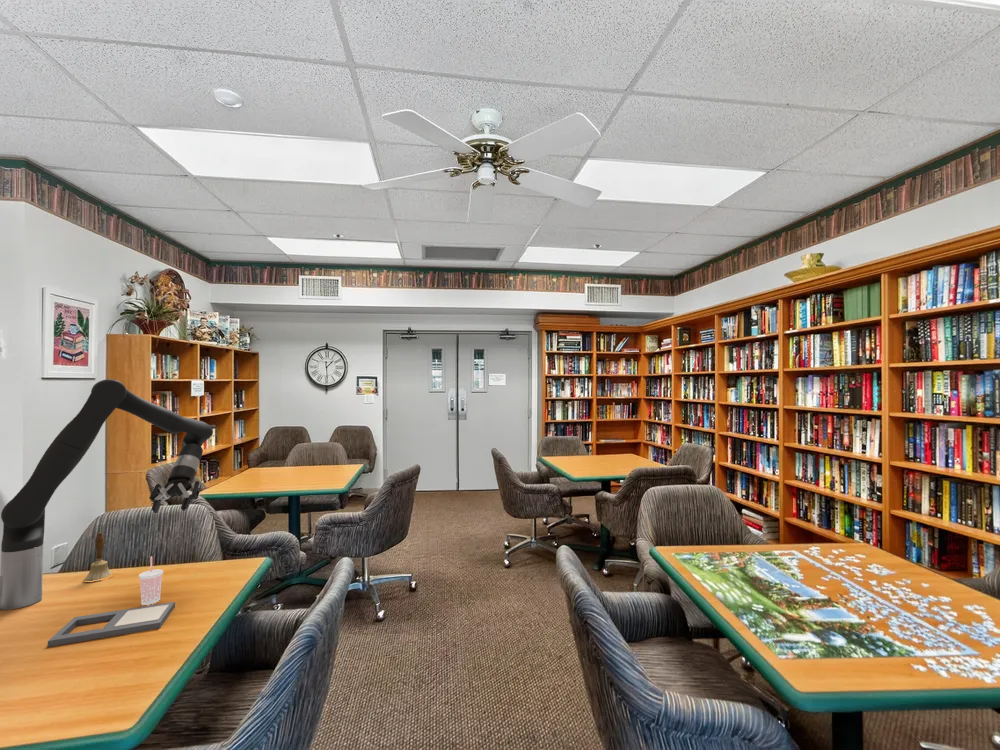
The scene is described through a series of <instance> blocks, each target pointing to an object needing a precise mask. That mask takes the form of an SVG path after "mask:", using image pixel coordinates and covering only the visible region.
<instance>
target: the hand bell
mask: <svg viewBox="0 0 1000 750" xmlns="http://www.w3.org/2000/svg"><path fill="white" fill-rule="evenodd" d="M94 547H95V549H96V557H95V558H96V559H95V560H96V561H94V562H93V563H91V565H90V568H89V571H88V573H87V576H86V577H84V578H83V580H84V581H93V580H98V579H101V578H105V577H108V576H109V575H111V574H112V573H113V572H112V571H111V570H110V569H109V565H108V561H107V560H103V549H104V547H105V538H104V534H103V532H97V534H96V537H95V540H94Z"/></svg>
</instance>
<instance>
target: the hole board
mask: <svg viewBox="0 0 1000 750" xmlns="http://www.w3.org/2000/svg"><path fill="white" fill-rule="evenodd" d="M175 607H176V602H175V601H171V602H165V603H156V604H152V605H147V606H140V607H139V606H138V607H132V608H125V609H121V610H120V609H119V610H118V609H117V610H113V611H107V612H100V613H94V614H93V613H92V614H86V615H81V616H74V617H73V618H72V619H70V620H69V621H68V622H67V623H66V624H65V625H64V626H63V627H62V628H60V630H58V631H57V632H56V633H55V634H53V636H52V637H50V638H49V639H48V640H47V648H50V647H56V646H61V645H69V644H74V643H79V642H87V641H92V640H96V639H97V640H98V639H104V638H109V637H115V636H121V635H126V634H128V635H129V634H132V633H139V632H144V631H145V632H146V631H150V630H157V629H161V628H162V626H164V625H163V624H164V623H165V622H166V620H167V619H168V618H169V616H170V615H171V614H172V612H173V610H174V608H175ZM101 622H107V623H106V625H105V626H104V627H102V628H96V629H91V630H90V629H89V630H83V631H78V632H77V631H76V632H72V633H71V631H73V630H74V629H75V628H76V627H77V626H81V625H88V624H94V623H101Z"/></svg>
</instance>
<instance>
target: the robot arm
mask: <svg viewBox="0 0 1000 750" xmlns="http://www.w3.org/2000/svg"><path fill="white" fill-rule="evenodd" d="M116 409H118V410H122V411H124V412H127V413H129V414H131V415H134V416H136V417H138V418H140V419H142V420H143V421H145V422H147V423H148V424H150V425H153V426H154V427H157V428H159V429H161V430H163V431H166V432H167V433H171V434H173V435H177V434H179V433H185V434H184V435H183V437H182V442H181V448H180V451H179V453H178V456H177V459H176V460H175V462H174V464H173V466H172V468H171V470H170V474H169V475H168V478H167V482H166V483H165V484H164V485H161V484H159V483H157V484H155V485H154V488H153V489H152V492H151V494H150V495H149V499H150V501H151V502H152V506H151V511H152V512H153V513H154V514H157V513H158V512H159V510H160V508H161V505H162V503H163V502H164V501H166V500H169V499H170V498H173V497H182V496H184V498H183V501H182V503H181V506H180V510H181V511H182V512H185V511H186V510H187V509H188V508H189V506H190V503H191V501H193V500H198V498H199V495H200V491H201V488H202V484H201V483H200V481H199V480H196V481H194V480H195V477H196V475H197V472H198V470H199V466H200V461H201V459H202V456H203V453H204V452H203V451H204V449H203V447H202V446H203V444H204V443H205V442H206V441H208V440H209V439H210V438H211V437H212V436H213V434H214V431H213V428H212V426H211V425H210V424H208V423H206V422H204V421H202V420H198V419H194V418H191V417H186V416H185V417H184V416H183V415H181V414H178V413H177V412H174V411H172V410H170V409H168V408H166V407H164V406H161V405H158V404H156V403H154V402H150V401H148V400H146V399H144V398H143V397H140V396H139V395H136V393H135V394H134V393H133V392H132V391H130V390H129V389H127V387H126V386H125V384H124V383H123V382H121V381H119V380H116V379H111V378H107V379H103V380H99V381H97V382H96V383H95V384H93V386H92V387H91V390H90V394H89V396H88V397H87V399H86V402H85V403H84V405H83V406H82V407H81V409H80V410H79V412H78V413H77V414H76V415H75V417H73V418H72V419H71V420H70V421H69V422H68V423H67V424H66V425H65V427H63V429H62V430H60V432H59V433H58V434H57V436H56V437H55V438H54V439H53V441H52V442H51V443H50V445H49V446H48V447H47V448H46V450H45V452H44V454H43V455H42V457H40V460H39V462H38V463H37V464H36V467H35V469H34V470H33V472H32V475H31V476H30V478H28V480H27V482H26V483H25V484H24V486H23V487H21V489H20V490H19V491H18V492H17V494H16V495H15V496H14V497H13V498H12V499H11V500H10V501H8V502H7V503H6V505H4V507H3V508H2V510H1V512H0V513H1V514H0V519H1V521H2V523H3V527H2V531H3V532H2V540H1V548H0V549H1V554H0V555H1V556H0V557H1V558H0V610H2V611H3V610H4V611H8V609H10V610H15V608H16V609H21V608H25V607H28V606H31V605H35V604H37V603H39V602H41V600H43V572H44V569H43V568H44V537H45V525H46V524H45V519H46V518H45V517H46V507H47V505H48V503H49V502H50V500H51V498H52V496H53V495H54V493H56V490H57V489H58V487H60V485H61V484H62V483H63V482H64V480H65V479H66V478H67V477H68V476H69V475H70V474H71V473H72V472H73V470H74V469H75V468H76V467H77V466H78V464H79V463H80V462H81V460H82V459H83V458H84V456H85V455H86V454H87V452H88V450H89V449H90V447H91V446H92V444H93V442H94V441H95V439H96V437H97V436H98V434H99V432H100V430H101V428H102V427H103V425H104V423H105V422H106V420H107V419H108V418H109V416H110V415H112V413H113V412H114V411H115V410H116ZM191 489H192V491H191V494H189V492H188V491H190V490H191Z"/></svg>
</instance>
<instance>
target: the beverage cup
mask: <svg viewBox="0 0 1000 750" xmlns="http://www.w3.org/2000/svg"><path fill="white" fill-rule="evenodd" d="M149 558H150V560H149V563H150V565H149V567H150V569H149V570H146V571H143V572H141V573H139V575H138V579H139V582H140V583H139V584H140V585H139V587H140V601H141V606H143V605H147V606H151V605H150V604H152V605H154V604H153V603H155V604H157V603H156V602H158V601H159V600H160V601H161V592H162V583H163V582H162V579H163V574H164V570H163V569H153V556H150V557H149ZM160 601H159V602H160ZM159 602H158V603H159Z"/></svg>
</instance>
